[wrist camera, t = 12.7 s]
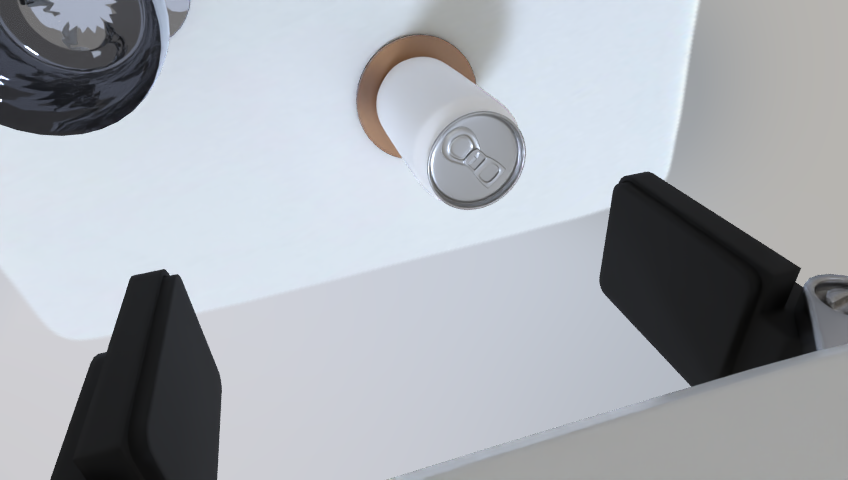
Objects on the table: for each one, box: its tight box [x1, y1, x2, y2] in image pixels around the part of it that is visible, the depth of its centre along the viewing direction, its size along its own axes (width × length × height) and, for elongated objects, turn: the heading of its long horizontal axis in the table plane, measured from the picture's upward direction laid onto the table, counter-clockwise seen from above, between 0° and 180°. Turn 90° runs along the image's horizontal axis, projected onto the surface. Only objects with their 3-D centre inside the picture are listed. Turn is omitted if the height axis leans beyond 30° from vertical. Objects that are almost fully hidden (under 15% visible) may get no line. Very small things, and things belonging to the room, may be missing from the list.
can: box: [376, 57, 526, 210], centre depth 33 cm, size 6×6×12 cm
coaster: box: [356, 35, 476, 158], centre depth 38 cm, size 9×9×1 cm
